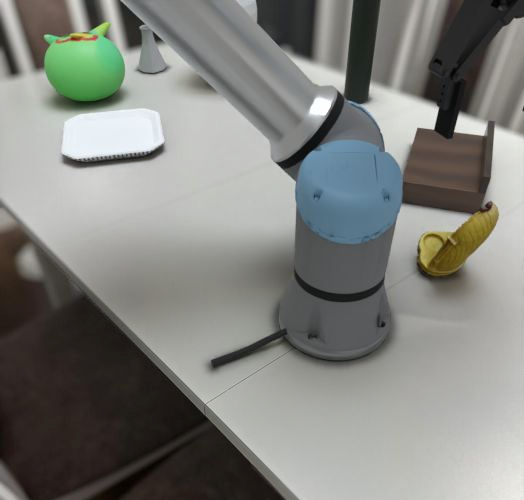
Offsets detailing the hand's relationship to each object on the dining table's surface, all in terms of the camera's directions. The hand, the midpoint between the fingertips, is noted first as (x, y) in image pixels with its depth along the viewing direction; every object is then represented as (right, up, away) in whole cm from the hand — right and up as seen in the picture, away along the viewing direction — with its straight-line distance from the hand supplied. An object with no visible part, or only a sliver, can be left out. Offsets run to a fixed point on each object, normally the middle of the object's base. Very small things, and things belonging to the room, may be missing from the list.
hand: (488, 124), depth 66 cm
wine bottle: (-6, +32, +60) cm, 68 cm away
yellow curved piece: (0, -16, +15) cm, 22 cm away
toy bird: (-70, +33, +63) cm, 99 cm away
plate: (-60, +16, +47) cm, 77 cm away
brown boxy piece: (+6, +5, +34) cm, 35 cm away
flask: (-58, +47, +75) cm, 105 cm away
